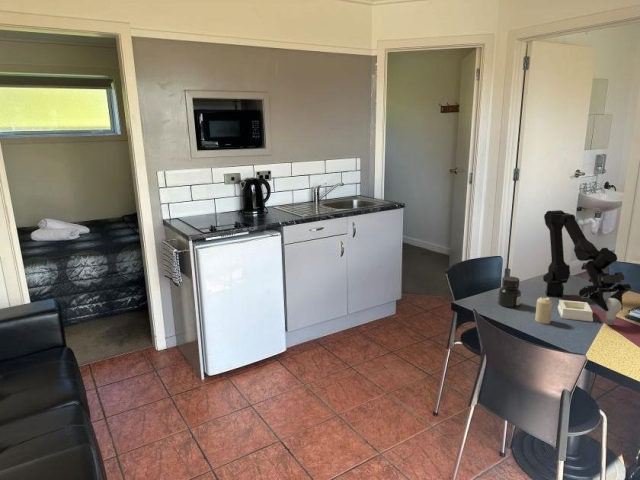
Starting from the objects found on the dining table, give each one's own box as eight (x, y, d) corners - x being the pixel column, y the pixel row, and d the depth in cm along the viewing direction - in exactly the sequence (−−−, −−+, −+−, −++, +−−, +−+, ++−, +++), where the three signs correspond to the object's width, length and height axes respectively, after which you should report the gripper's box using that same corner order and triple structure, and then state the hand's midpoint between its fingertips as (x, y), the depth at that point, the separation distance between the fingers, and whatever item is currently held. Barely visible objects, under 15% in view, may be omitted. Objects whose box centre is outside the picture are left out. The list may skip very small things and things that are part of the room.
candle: (549, 319, 180) (551, 296, 178) (551, 324, 175) (554, 300, 172) (534, 317, 182) (536, 294, 179) (535, 323, 177) (538, 299, 174)
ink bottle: (523, 308, 191) (525, 282, 188) (502, 308, 191) (504, 282, 189) (514, 300, 201) (516, 275, 198) (494, 300, 201) (496, 275, 198)
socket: (561, 318, 181) (562, 308, 180) (557, 308, 191) (558, 299, 190) (592, 321, 177) (593, 312, 176) (586, 311, 187) (588, 302, 186)
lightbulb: (596, 321, 176) (600, 295, 174) (611, 321, 177) (615, 295, 174) (607, 328, 171) (611, 301, 168) (622, 327, 171) (626, 301, 168)
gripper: (587, 266, 171) (605, 303, 163) (631, 263, 173) (651, 300, 165) (571, 279, 180) (587, 315, 172) (613, 276, 183) (630, 311, 175)
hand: (614, 310), depth 171 cm, fingers closed on lightbulb, 6 cm apart
